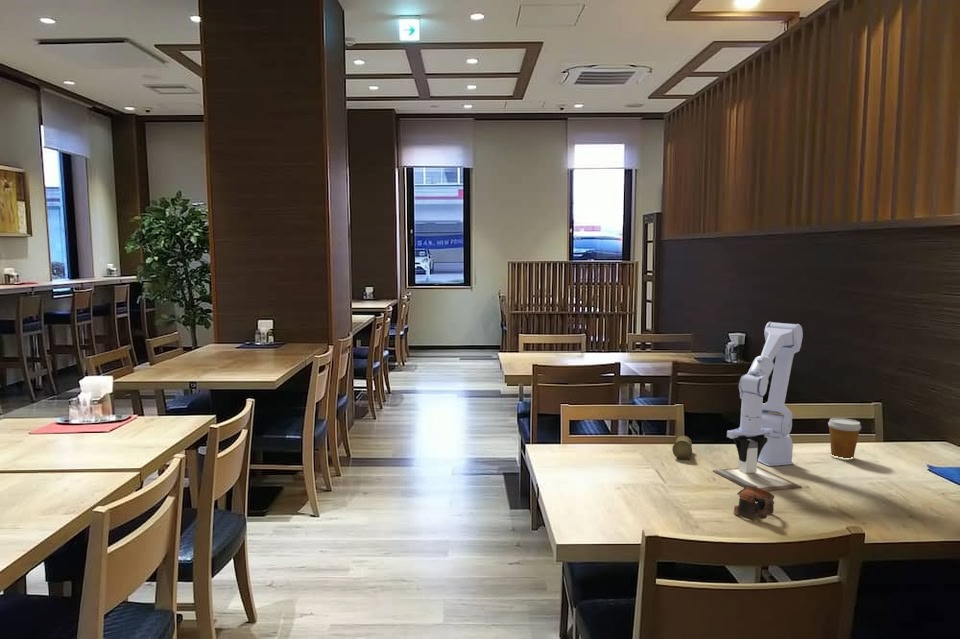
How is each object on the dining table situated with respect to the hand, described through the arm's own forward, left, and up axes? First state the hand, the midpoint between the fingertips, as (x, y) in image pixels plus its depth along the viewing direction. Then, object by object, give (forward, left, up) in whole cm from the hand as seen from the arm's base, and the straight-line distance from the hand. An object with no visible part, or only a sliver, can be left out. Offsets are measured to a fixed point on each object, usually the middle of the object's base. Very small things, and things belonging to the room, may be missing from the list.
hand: (748, 460), depth 195 cm
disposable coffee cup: (-42, -7, -4) cm, 43 cm away
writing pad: (+1, +5, -4) cm, 6 cm away
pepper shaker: (+11, -17, -1) cm, 20 cm away
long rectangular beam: (0, 0, -3) cm, 3 cm away
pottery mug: (+20, +28, -4) cm, 34 cm away
